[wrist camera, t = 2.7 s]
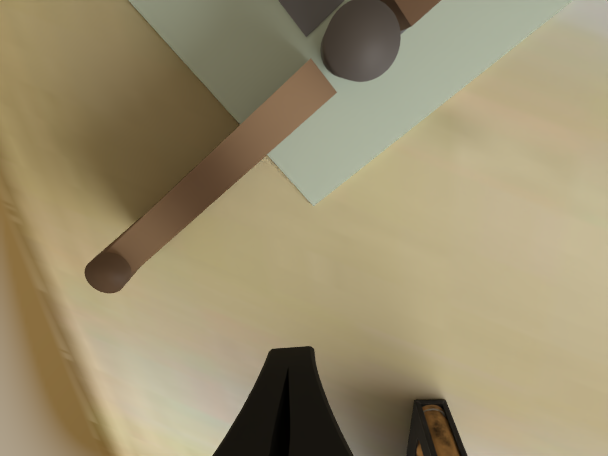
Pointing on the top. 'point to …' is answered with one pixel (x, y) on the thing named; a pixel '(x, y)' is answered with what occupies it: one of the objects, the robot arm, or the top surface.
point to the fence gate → (211, 177)
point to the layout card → (350, 95)
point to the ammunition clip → (433, 431)
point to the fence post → (368, 36)
